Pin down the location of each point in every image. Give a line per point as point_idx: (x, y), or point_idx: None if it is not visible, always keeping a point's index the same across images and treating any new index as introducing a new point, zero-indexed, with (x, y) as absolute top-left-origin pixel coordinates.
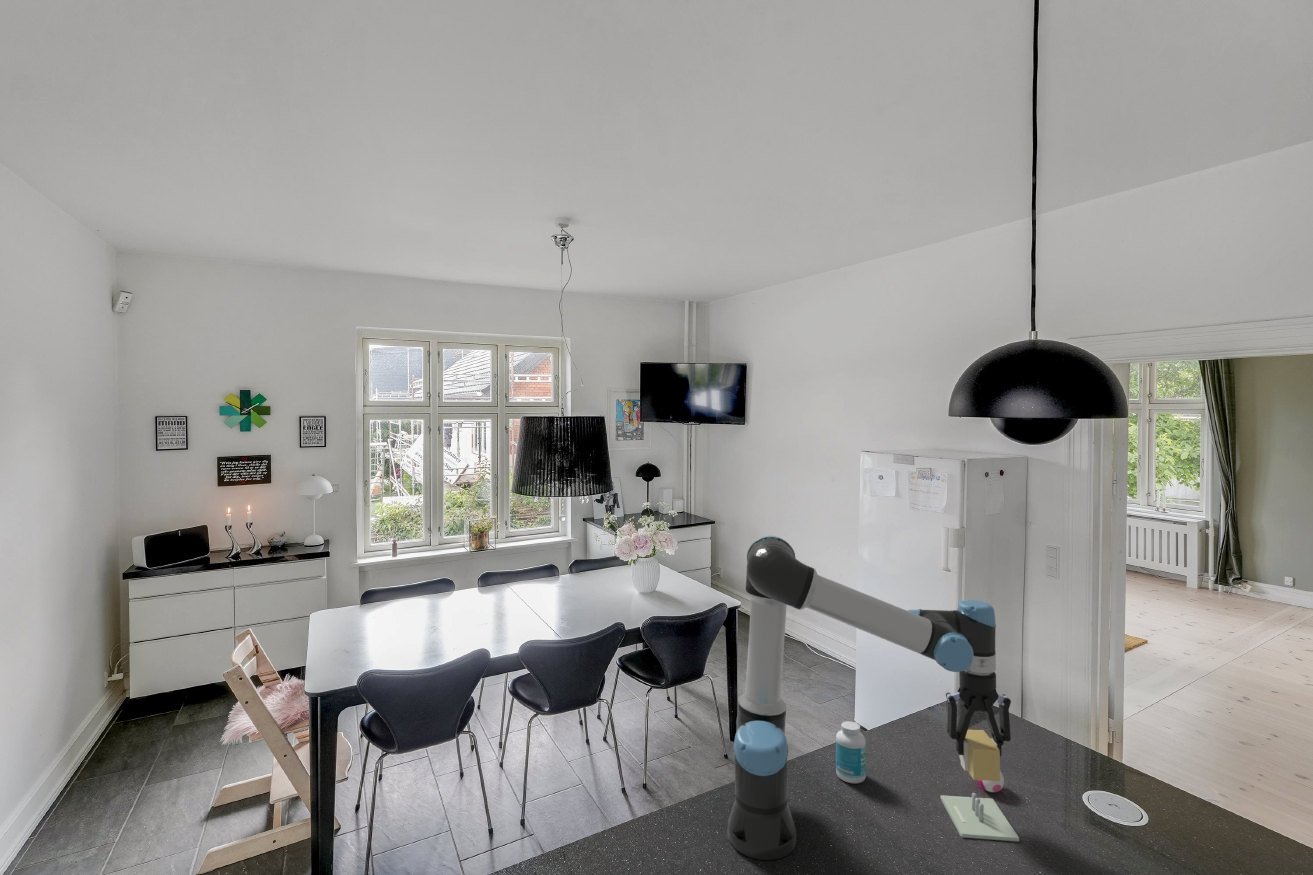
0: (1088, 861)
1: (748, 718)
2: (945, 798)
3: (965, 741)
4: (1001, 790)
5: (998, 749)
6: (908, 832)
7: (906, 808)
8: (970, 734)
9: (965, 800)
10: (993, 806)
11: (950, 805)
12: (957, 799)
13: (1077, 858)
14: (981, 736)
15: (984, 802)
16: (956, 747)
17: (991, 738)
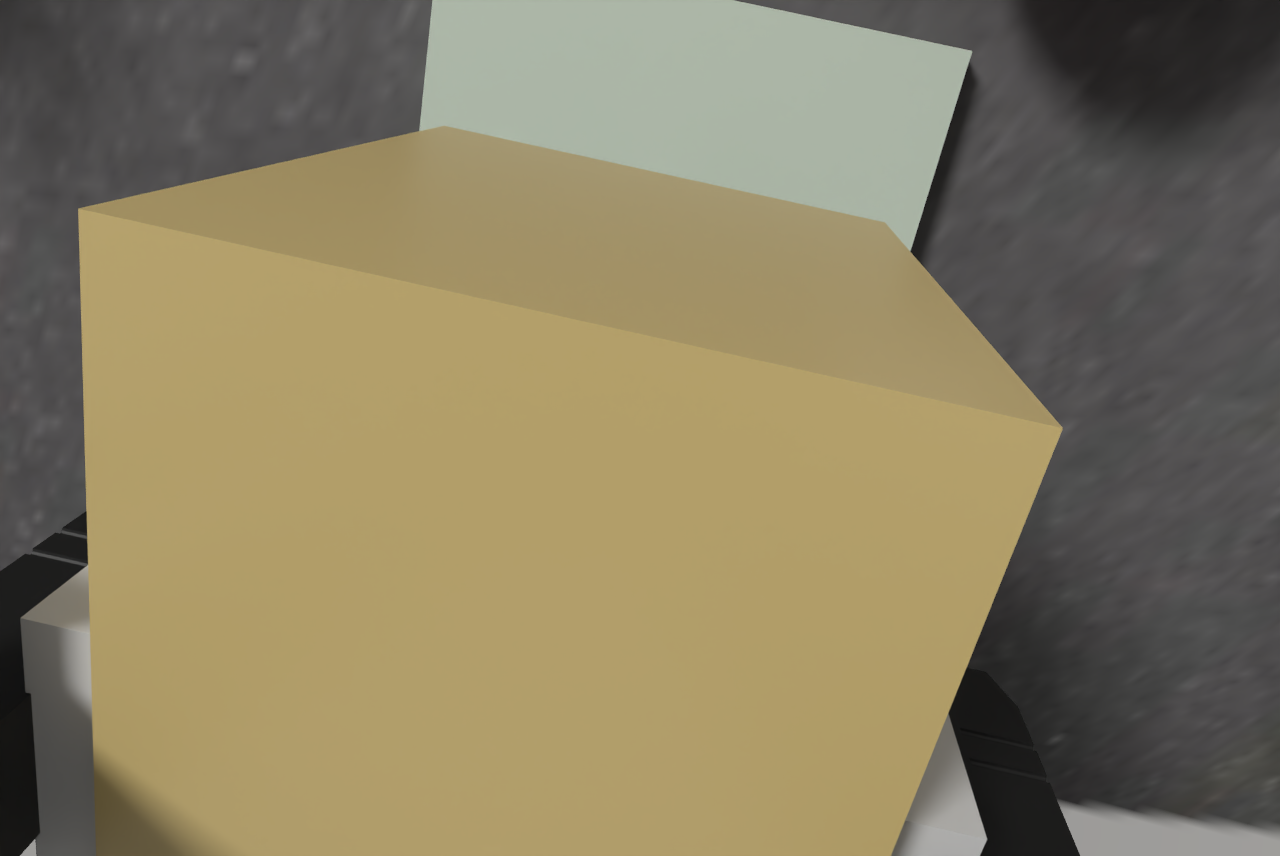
0: (1136, 784)
1: None
2: (466, 5)
3: (93, 830)
4: None
5: None
6: (12, 390)
7: (63, 84)
8: (365, 615)
9: (658, 60)
10: (883, 185)
11: (463, 129)
12: (585, 31)
13: (1087, 754)
14: (658, 788)
15: (837, 109)
16: (67, 537)
17: (954, 837)
